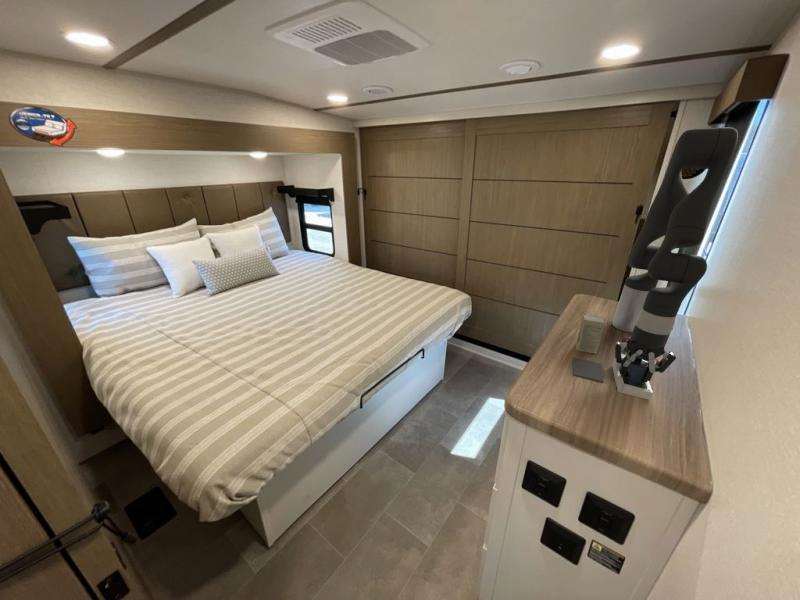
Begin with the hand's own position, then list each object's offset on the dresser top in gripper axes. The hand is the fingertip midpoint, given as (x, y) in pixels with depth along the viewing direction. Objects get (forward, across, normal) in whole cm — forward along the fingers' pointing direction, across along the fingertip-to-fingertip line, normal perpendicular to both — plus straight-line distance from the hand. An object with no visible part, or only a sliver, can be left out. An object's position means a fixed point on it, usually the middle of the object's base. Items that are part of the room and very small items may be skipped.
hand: (633, 377), depth 88 cm
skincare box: (+3, +11, -16) cm, 20 cm away
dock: (+3, 0, -7) cm, 8 cm away
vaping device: (+3, 0, 0) cm, 3 cm away
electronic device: (+3, -5, -20) cm, 21 cm away
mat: (+3, +11, -3) cm, 12 cm away
